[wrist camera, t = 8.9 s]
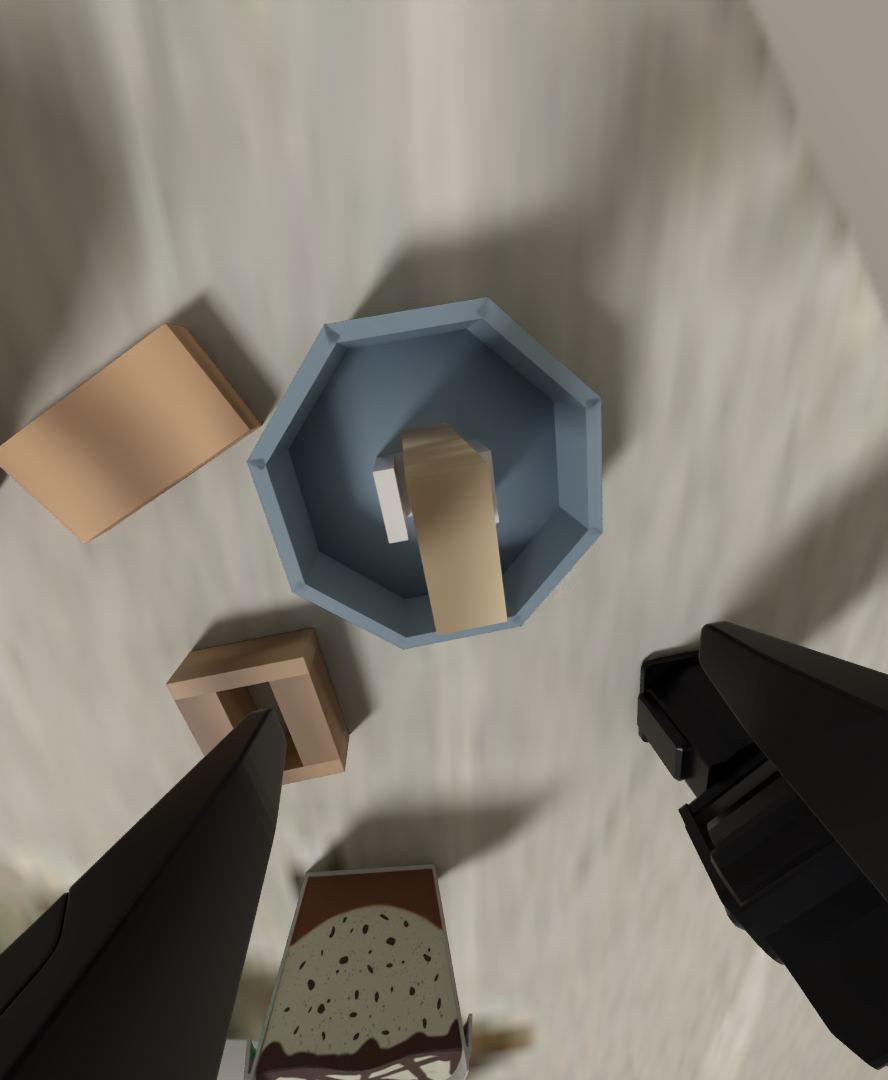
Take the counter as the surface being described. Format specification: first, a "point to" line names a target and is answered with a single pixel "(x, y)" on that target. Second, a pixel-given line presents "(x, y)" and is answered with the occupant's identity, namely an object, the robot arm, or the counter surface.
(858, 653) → the counter surface
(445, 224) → the counter surface
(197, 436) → the tapered wooden plank
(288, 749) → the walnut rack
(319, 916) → the food container
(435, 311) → the blue octagonal bowl
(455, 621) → the bar
